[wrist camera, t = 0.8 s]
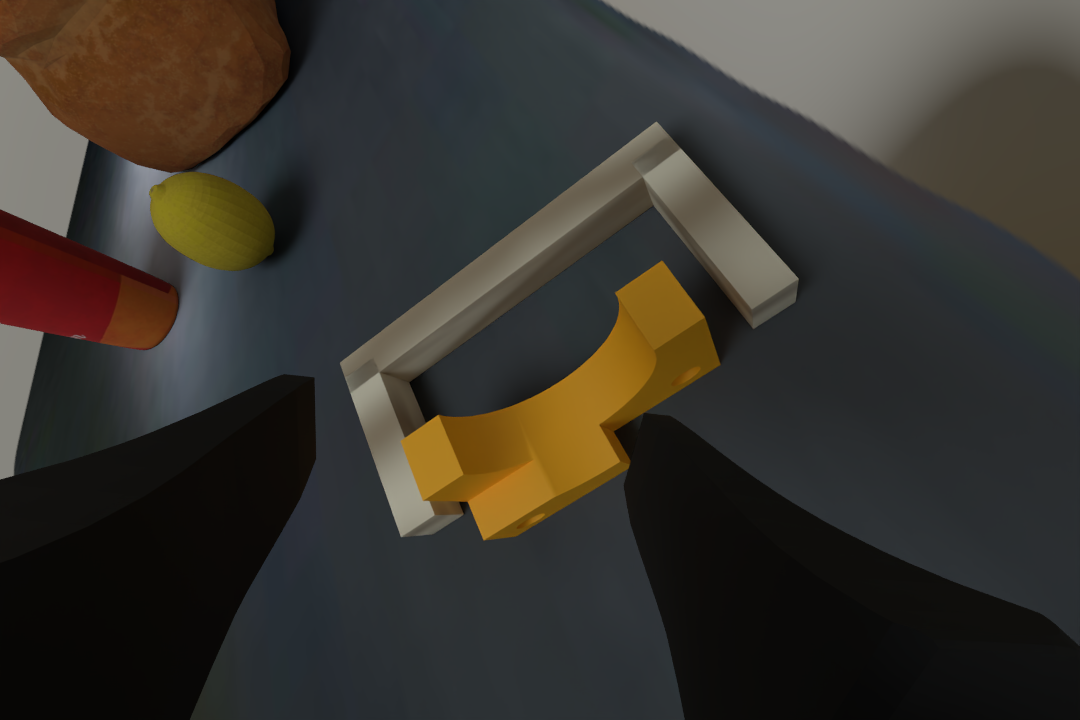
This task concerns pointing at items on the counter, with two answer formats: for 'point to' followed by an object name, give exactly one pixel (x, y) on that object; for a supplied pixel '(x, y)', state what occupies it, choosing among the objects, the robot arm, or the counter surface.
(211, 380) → the counter surface
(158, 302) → the paper cup
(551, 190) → the counter surface
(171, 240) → the lemon
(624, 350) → the pipe clamp
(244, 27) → the bread
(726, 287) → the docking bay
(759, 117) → the counter surface
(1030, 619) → the robot arm
